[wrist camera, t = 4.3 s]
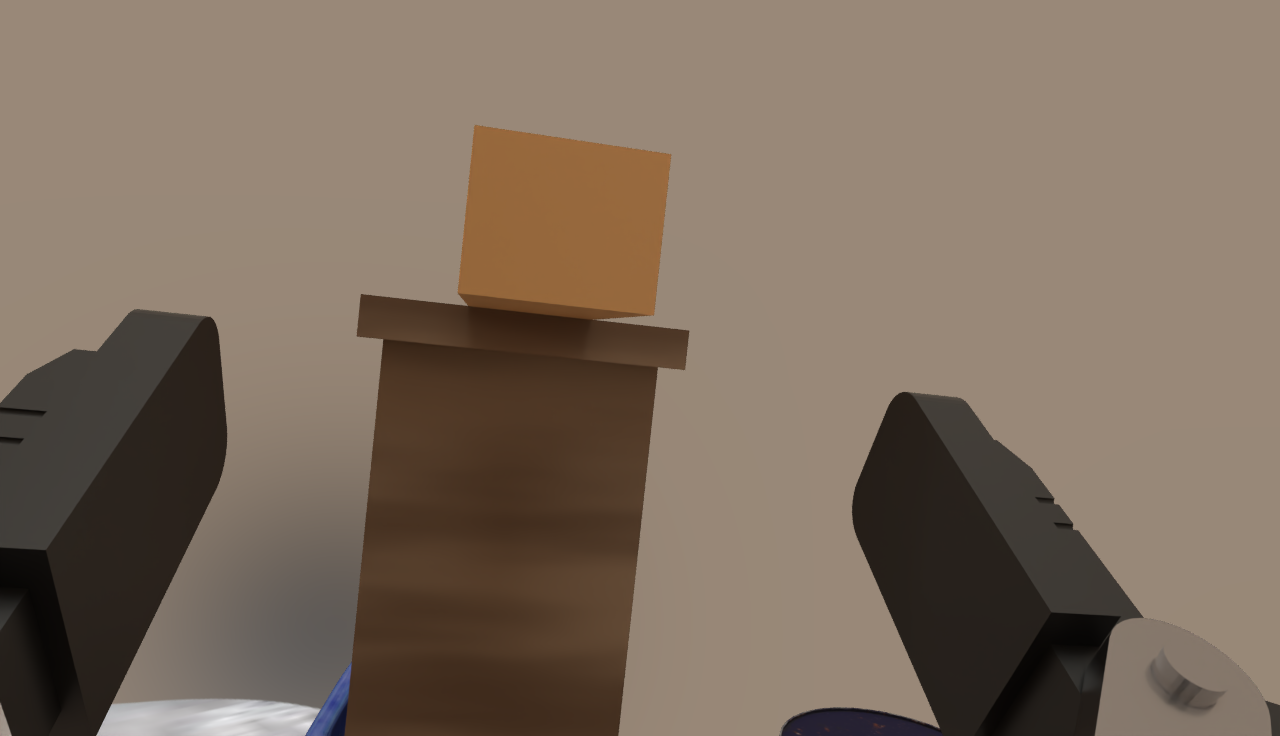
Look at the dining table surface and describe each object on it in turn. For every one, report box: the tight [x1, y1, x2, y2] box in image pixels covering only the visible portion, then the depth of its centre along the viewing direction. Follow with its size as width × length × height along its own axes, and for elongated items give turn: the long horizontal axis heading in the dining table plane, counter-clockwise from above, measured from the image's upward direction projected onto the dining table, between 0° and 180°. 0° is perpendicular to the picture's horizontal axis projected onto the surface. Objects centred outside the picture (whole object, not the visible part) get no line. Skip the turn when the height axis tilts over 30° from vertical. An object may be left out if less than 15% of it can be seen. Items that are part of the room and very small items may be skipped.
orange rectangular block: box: [458, 125, 671, 320], centre depth 24 cm, size 22×3×2 cm, turn 10°
